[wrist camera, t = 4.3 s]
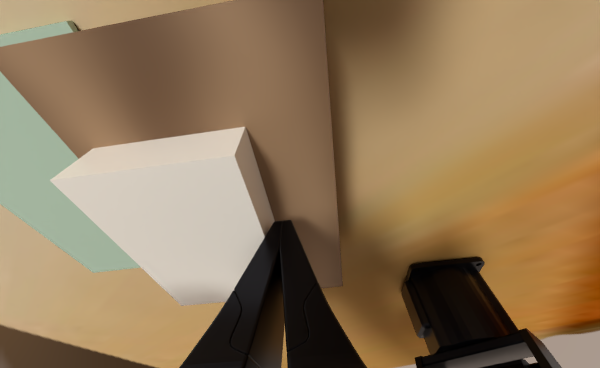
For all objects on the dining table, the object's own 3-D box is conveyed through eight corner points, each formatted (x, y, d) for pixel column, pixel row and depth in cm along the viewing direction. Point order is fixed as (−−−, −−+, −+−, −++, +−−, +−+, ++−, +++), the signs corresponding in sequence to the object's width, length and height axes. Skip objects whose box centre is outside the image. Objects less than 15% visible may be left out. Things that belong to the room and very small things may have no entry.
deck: (311, -11, 9) (321, -18, 6) (334, 239, 19) (342, 286, 16) (81, 34, 10) (-19, 50, 7) (218, 252, 20) (204, 299, 17)
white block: (245, 126, 8) (234, 155, 7) (287, 263, 14) (287, 296, 12) (93, 148, 9) (49, 180, 7) (193, 272, 14) (181, 305, 13)
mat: (71, 20, 9) (66, 21, 9) (221, 255, 20) (220, 258, 20) (-169, 69, 10) (-179, 71, 10) (95, 269, 21) (93, 272, 21)
